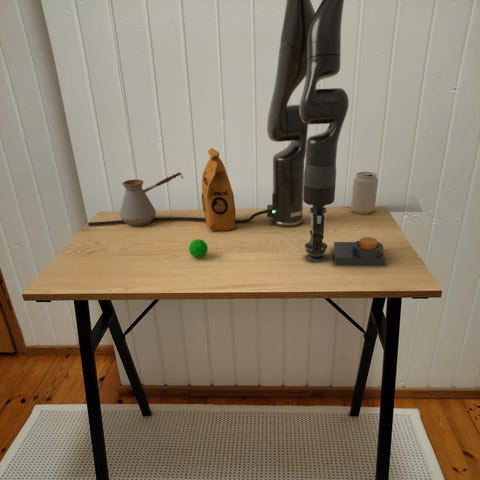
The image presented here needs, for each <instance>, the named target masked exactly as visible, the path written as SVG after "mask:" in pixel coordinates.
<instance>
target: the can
mask: <svg viewBox="0 0 480 480" xmlns="http://www.w3.org/2000/svg"><path fill="white" fill-rule="evenodd" d="M378 185H379V178H378V177H377V173H376V172H373V171H358V172H356V174H355V176H354V177H353V181H352V191H351V202H350V210H352V211H353V212H354V213H356V214H360V215H368V214H371V213H372V212H373V211H375V208H376V202H377V201H376V200H377V193H378Z"/></svg>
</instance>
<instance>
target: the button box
mask: <svg viewBox="0 0 480 480" xmlns="http://www.w3.org/2000/svg"><path fill="white" fill-rule="evenodd" d="M359 241H360V240H356V241H333V246H332V247H333V249H332V250H333V256H334V264H335V266H364V267H367V266H368V267H385V264H386V256H385V254H384V246H383V243H382V242H379V241H378V243H377V248H376V249H372V250H366V249H362V248H360V247H359Z"/></svg>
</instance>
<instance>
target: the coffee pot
mask: <svg viewBox="0 0 480 480" xmlns="http://www.w3.org/2000/svg"><path fill="white" fill-rule="evenodd" d="M179 176H180V177H181V179H184V176H183V174H182V173H181V171H180V172H176V174H172V175H171V176H168V177H165V178H163V179H162V180H160V181H158V182H156V183H155V184H153V185H151V186H149V187H146V188H144V189H143V184H144V181H143V180H142V179H128V180H124V181H123V182H122V186H124V189H125V191H124V195H123V199H122V204H121V208H120V211H119V218H120V220H123V221H124V222H125V223H124V224H127V225H128V226H131V227H142V226H146V225H149V224H150V223H152V221H151V220H153V218H156V215H157V211H156V208H155V207H154V205H153V204H152V202H151V200H150V198H149V196H148V195H147V194H146V193H147V192H150V191H151V190H154V189H155V188H157V187H159V186H161V185H164V184H167V183H169V182H170V181H172V180H173V179H176V178H177V177H179Z"/></svg>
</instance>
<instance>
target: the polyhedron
mask: <svg viewBox="0 0 480 480" xmlns="http://www.w3.org/2000/svg"><path fill="white" fill-rule="evenodd" d="M208 247H209V246H208V244H207V243H206V242H205V240H203V239H199V238H197V239H194V240H191V242H190V243H189V246H188V252H189V253H190V254H189V255H191V257H193V258H196V259H201V258H203V257H205V256H206V255H207V253H208V250H209V248H208Z"/></svg>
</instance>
